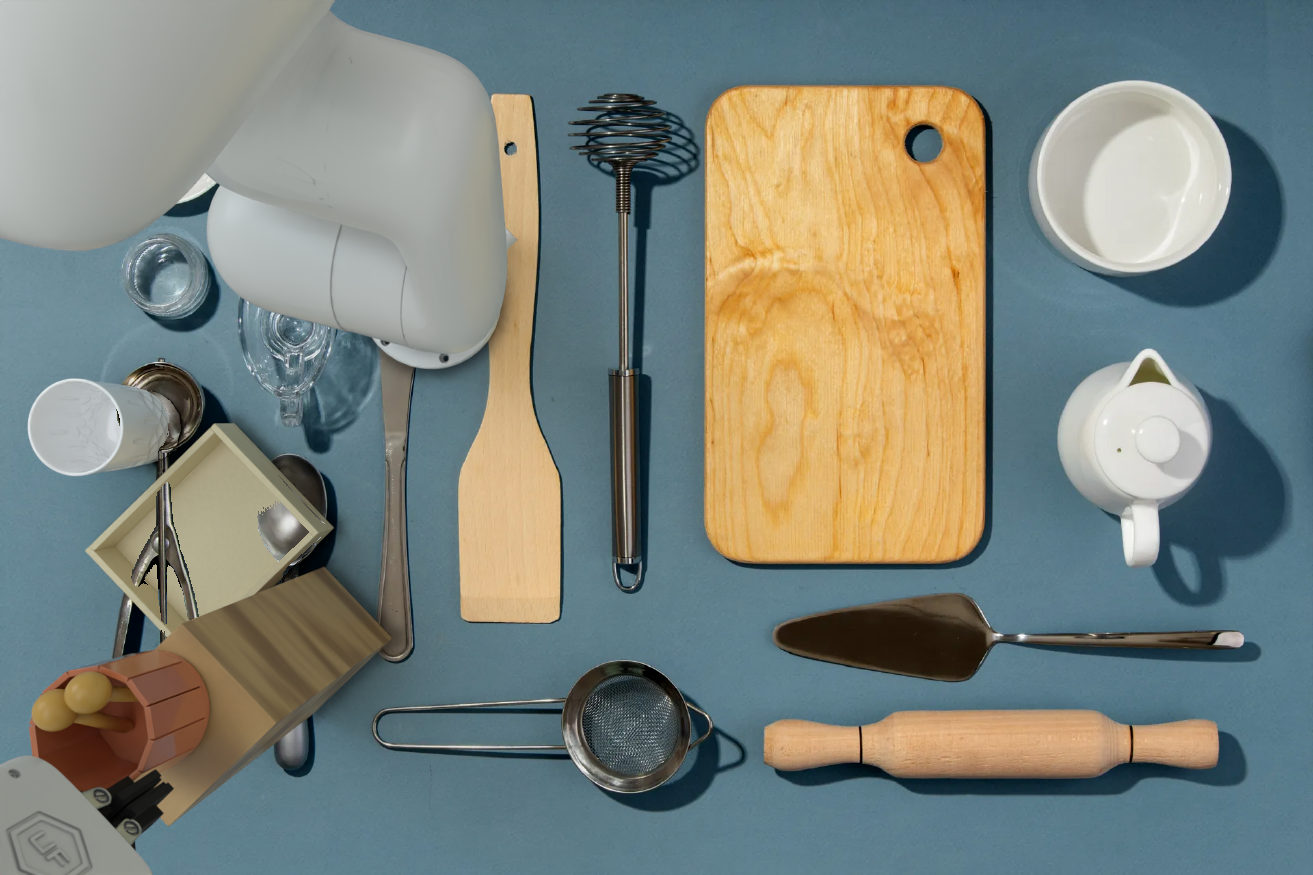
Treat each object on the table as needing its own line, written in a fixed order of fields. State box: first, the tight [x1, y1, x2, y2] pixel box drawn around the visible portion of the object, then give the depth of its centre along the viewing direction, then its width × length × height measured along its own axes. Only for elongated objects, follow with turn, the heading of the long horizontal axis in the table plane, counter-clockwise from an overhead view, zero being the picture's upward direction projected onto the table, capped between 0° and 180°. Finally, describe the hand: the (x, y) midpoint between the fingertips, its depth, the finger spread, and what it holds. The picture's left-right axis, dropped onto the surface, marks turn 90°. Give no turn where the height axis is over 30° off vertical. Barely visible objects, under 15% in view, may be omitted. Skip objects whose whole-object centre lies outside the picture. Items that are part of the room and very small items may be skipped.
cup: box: [28, 649, 210, 791], centre depth 58 cm, size 8×8×6 cm
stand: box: [154, 566, 392, 827], centre depth 73 cm, size 10×9×24 cm
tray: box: [84, 422, 334, 638], centre depth 83 cm, size 16×13×4 cm
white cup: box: [27, 377, 171, 477], centre depth 80 cm, size 8×8×10 cm
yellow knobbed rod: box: [64, 671, 139, 714], centre depth 56 cm, size 2×2×8 cm
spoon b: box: [31, 689, 133, 733], centre depth 57 cm, size 2×2×8 cm
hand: (147, 796), depth 55 cm, fingers closed
